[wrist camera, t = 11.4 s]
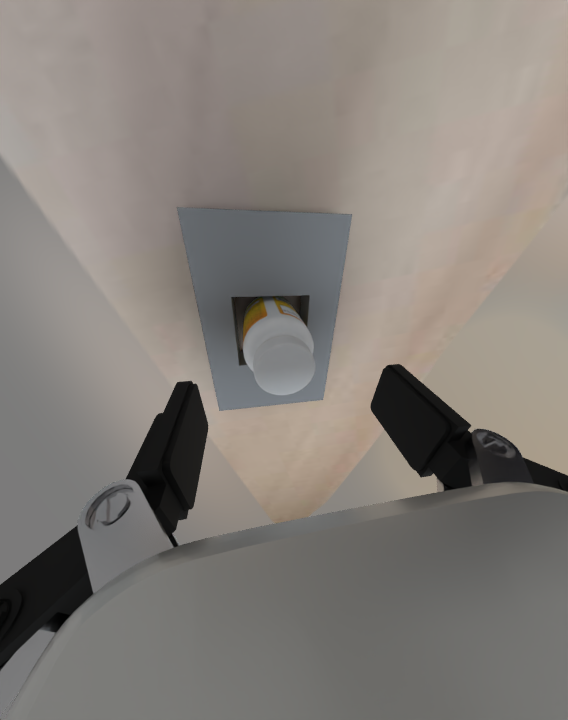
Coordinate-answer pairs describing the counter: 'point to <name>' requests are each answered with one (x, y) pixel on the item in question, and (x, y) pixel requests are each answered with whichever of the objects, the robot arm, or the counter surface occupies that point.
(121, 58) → the counter surface
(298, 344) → the supplement bottle
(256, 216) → the socket block
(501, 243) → the counter surface
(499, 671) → the robot arm
